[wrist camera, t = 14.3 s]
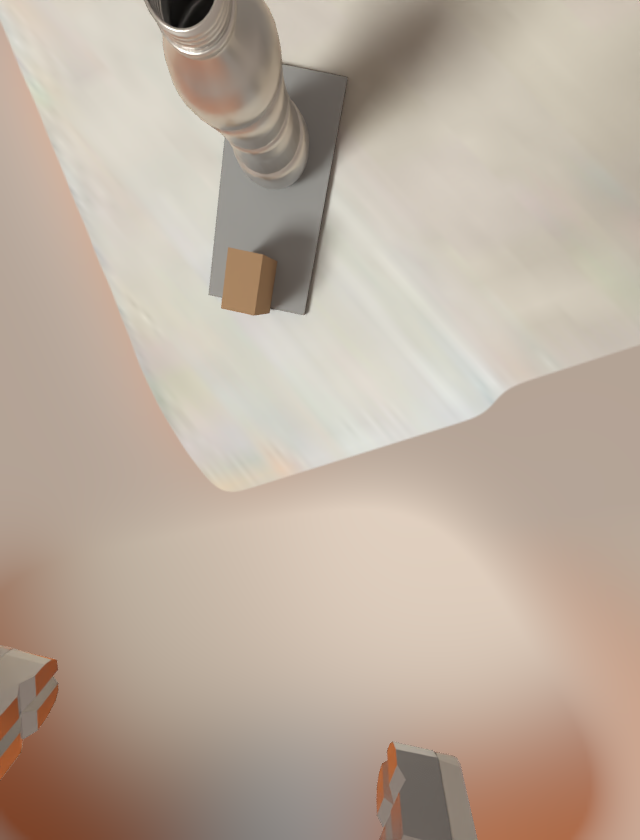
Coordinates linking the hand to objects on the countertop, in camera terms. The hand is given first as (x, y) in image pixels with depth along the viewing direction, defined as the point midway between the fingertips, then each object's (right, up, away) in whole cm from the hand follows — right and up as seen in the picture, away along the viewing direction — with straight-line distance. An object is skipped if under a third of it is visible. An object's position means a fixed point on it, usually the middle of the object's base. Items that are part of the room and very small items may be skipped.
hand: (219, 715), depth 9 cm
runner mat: (-2, +28, +27) cm, 39 cm away
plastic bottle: (-1, +31, +26) cm, 41 cm away
